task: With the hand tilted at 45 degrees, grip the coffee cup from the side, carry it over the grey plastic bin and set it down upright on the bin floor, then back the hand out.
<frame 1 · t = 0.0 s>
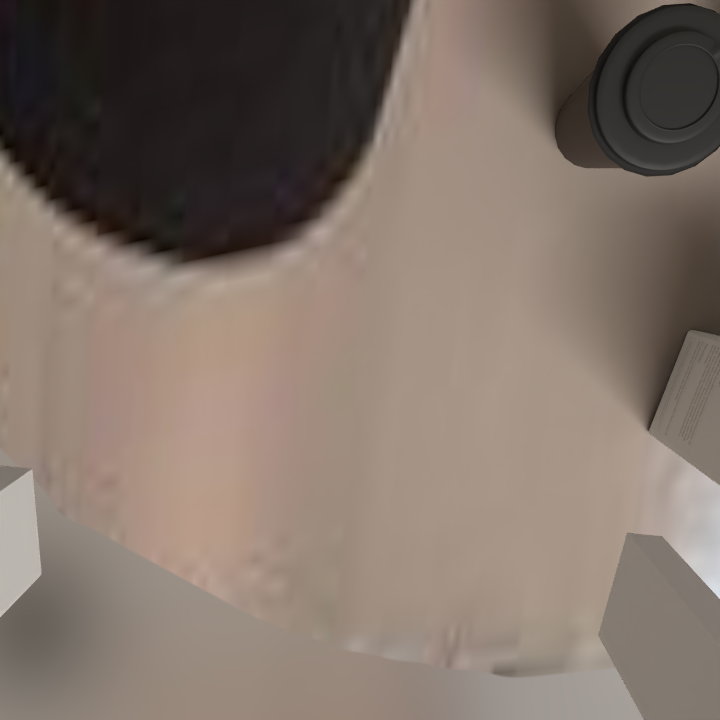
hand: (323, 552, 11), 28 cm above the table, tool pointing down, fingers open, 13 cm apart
coffee cup: (593, 127, 34), on the table
supplement box: (718, 392, 39), on the table
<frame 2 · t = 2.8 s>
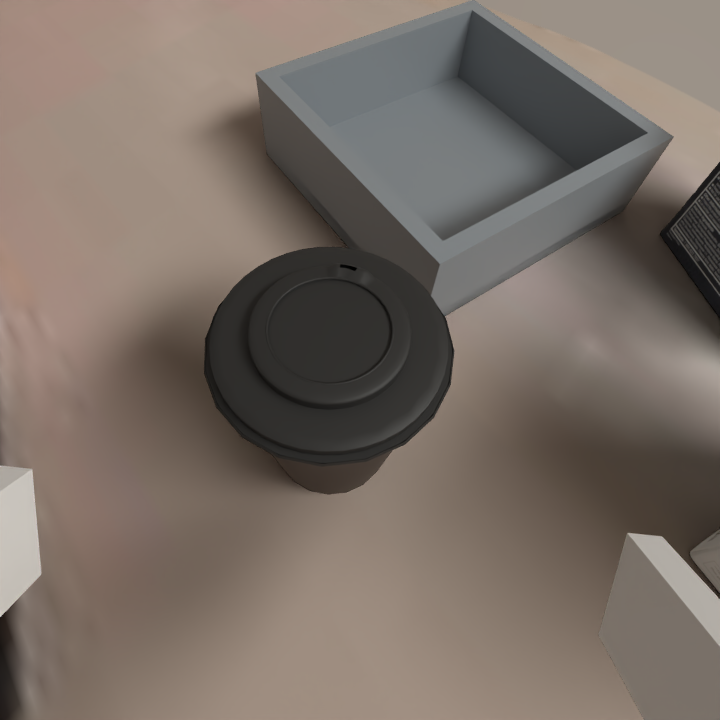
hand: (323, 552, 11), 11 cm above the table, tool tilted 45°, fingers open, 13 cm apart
coffee cup: (331, 440, 24), on the table
bin: (441, 181, 33), on the table
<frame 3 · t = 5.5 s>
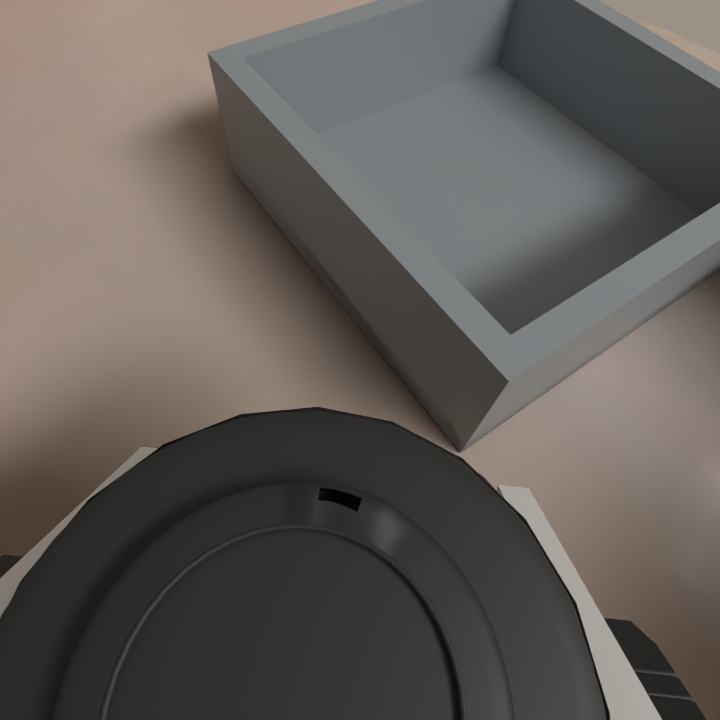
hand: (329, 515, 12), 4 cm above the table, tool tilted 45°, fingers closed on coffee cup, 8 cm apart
coffee cup: (316, 664, 14), on the table, touching gripper
bin: (480, 211, 23), on the table
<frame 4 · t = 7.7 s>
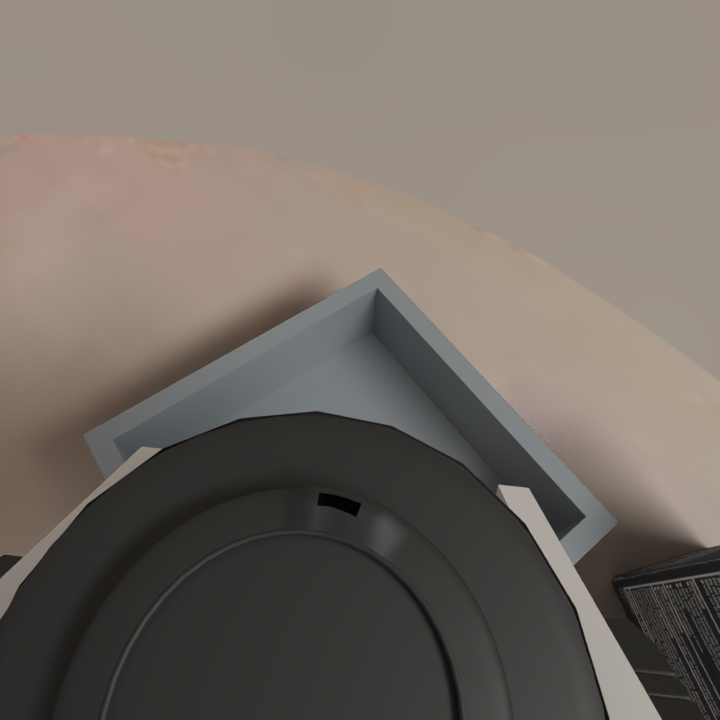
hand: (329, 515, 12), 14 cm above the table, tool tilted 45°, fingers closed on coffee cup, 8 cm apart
coffee cup: (316, 667, 14), point 10 cm above the table, touching gripper
bin: (343, 505, 26), on the table
small box: (717, 674, 24), on the table
when the fingers open (6 cm above the table, at t = 10.2 s): coffee cup drops 1 cm, resting on bin.
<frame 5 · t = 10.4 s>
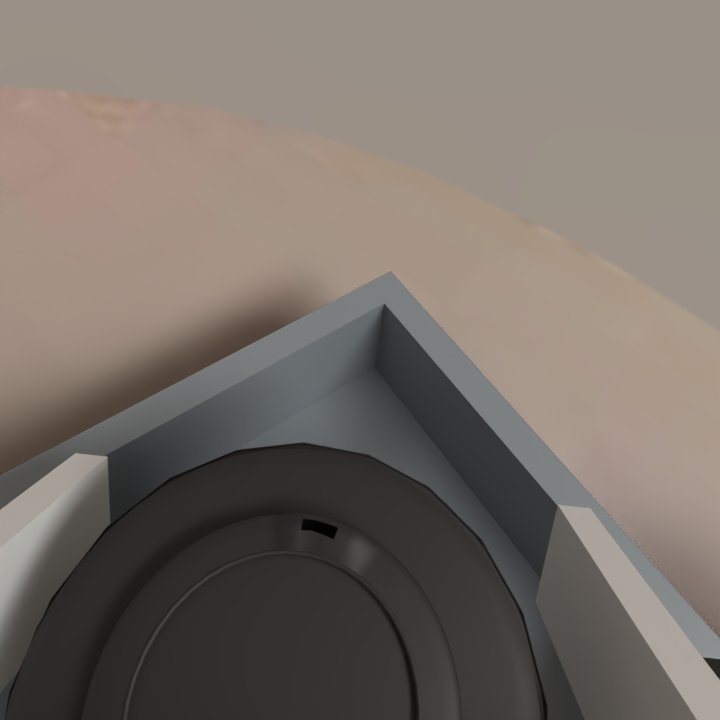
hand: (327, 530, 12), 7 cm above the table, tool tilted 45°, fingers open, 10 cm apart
coffee cup: (310, 664, 15), point 1 cm above the table, touching bin
bin: (318, 660, 16), on the table
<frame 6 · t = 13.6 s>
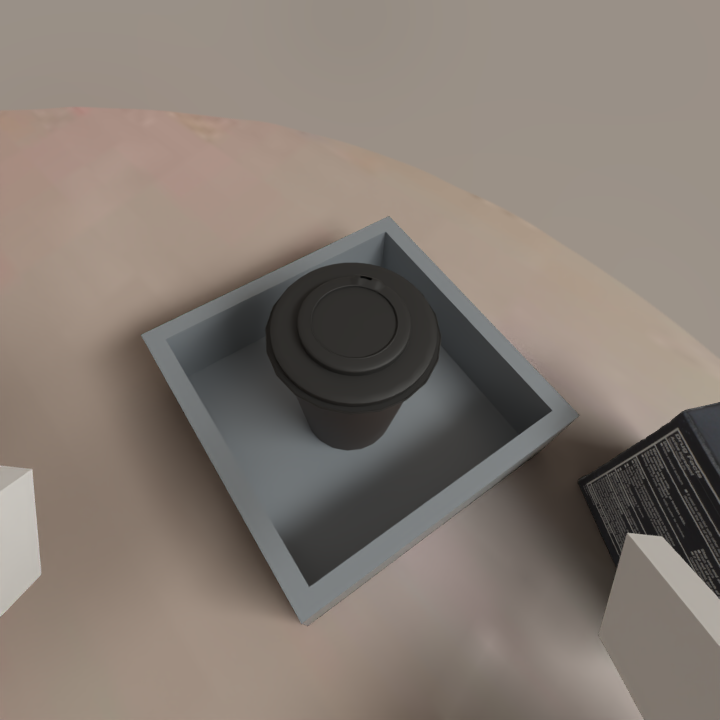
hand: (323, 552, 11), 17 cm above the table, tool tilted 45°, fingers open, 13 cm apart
coffee cup: (348, 410, 30), point 1 cm above the table, touching bin
bin: (352, 414, 31), on the table
small box: (663, 556, 28), on the table
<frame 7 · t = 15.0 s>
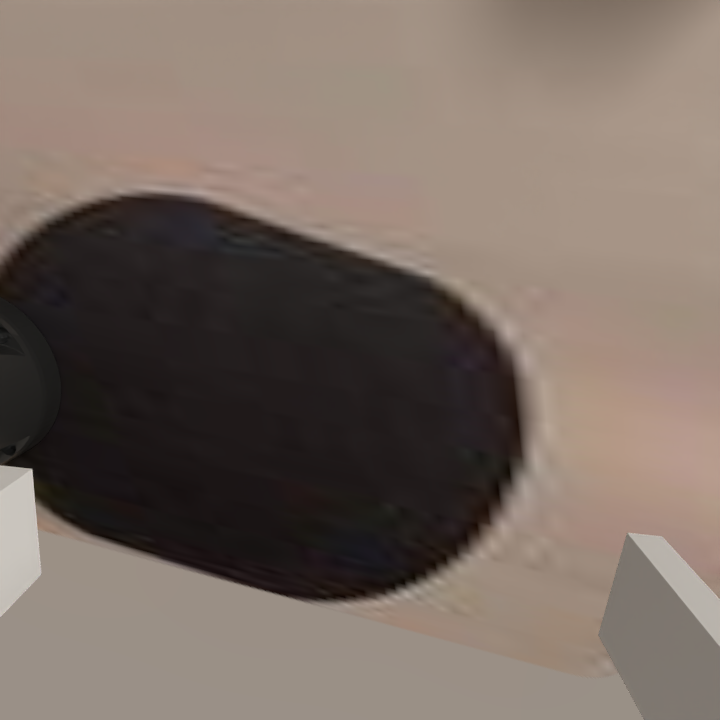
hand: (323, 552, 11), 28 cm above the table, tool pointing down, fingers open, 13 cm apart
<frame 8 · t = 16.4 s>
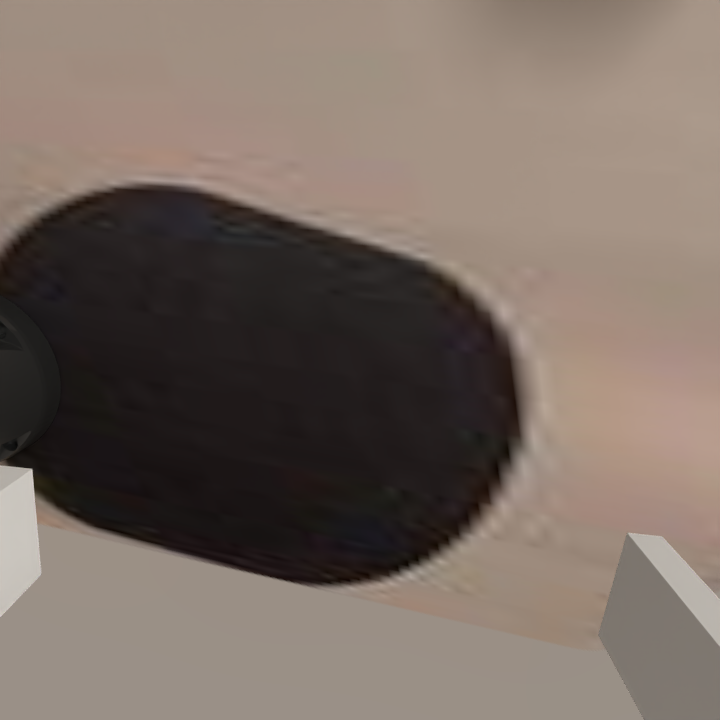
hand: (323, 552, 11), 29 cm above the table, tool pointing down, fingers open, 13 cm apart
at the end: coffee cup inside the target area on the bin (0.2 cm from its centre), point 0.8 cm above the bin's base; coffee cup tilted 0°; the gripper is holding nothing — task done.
